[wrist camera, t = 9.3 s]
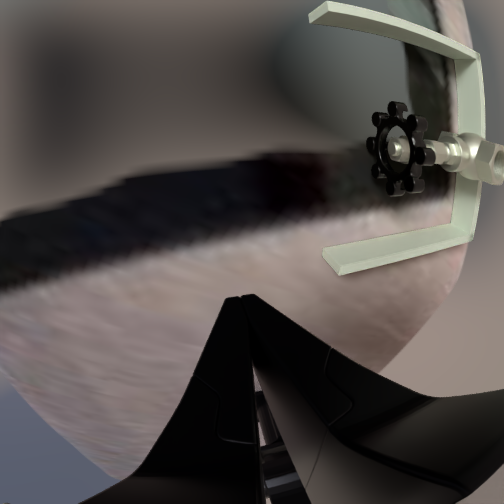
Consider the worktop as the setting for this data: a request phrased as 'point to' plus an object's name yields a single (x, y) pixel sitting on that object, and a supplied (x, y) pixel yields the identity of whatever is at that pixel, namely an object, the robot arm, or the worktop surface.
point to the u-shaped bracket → (469, 120)
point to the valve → (429, 152)
